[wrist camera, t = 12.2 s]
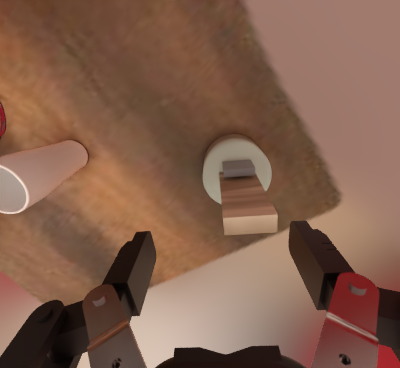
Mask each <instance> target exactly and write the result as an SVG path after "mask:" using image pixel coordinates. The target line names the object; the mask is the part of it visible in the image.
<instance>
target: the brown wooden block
mask: <svg viewBox="0 0 400 368" xmlns="http://www.w3.org/2000/svg"><path fill="white" fill-rule="evenodd" d="M219 181H220V192H221V203H222V213H223V224H224V234H225V235H237V234H254V233H271V232H277V219H278V214H277V212H276V210H275V208H274V207H273V205H272V203H271V201H270V199H269V197H268V195H267V193H266V192H265V190H264V188H263V186H262V184H261V182H260V180H259V178H258V177H257V175H256V173H255V175H250V176H237V177H224V175H223V172H219Z"/></svg>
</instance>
